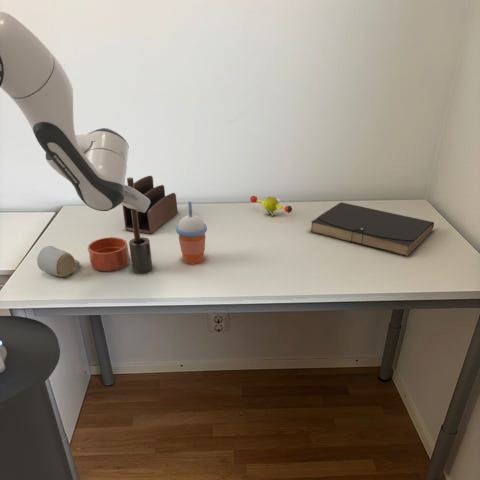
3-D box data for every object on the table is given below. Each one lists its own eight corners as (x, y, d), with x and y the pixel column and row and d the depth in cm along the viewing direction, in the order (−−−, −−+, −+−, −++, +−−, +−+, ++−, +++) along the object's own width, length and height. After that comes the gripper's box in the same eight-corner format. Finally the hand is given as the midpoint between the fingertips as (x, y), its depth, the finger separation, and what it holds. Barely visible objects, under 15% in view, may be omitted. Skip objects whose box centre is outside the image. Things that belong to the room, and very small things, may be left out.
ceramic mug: (60, 282, 144) (55, 257, 139) (39, 275, 147) (33, 251, 143) (87, 267, 151) (82, 243, 147) (66, 261, 155) (61, 237, 151)
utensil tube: (145, 275, 146) (141, 246, 141) (129, 271, 148) (125, 243, 144) (156, 267, 151) (153, 239, 146) (140, 263, 153) (137, 235, 148)
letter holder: (125, 230, 173) (119, 190, 165) (154, 210, 189) (150, 172, 181) (151, 234, 170) (146, 193, 162) (178, 213, 186) (175, 174, 178)
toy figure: (295, 218, 180) (296, 200, 176) (286, 223, 177) (287, 205, 173) (256, 207, 190) (256, 189, 186) (246, 211, 186) (246, 193, 183)
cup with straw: (180, 267, 150) (175, 209, 140) (176, 254, 158) (172, 197, 148) (210, 264, 152) (208, 206, 142) (206, 251, 159) (203, 195, 149)
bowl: (113, 275, 147) (110, 256, 143) (83, 267, 151) (79, 249, 148) (137, 259, 155) (134, 241, 152) (107, 252, 159) (104, 234, 156)
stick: (140, 255, 146) (130, 179, 134) (135, 254, 147) (125, 178, 135) (143, 253, 148) (134, 177, 135) (138, 252, 148) (129, 177, 136)
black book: (310, 220, 168) (343, 200, 185) (309, 232, 170) (341, 211, 187) (409, 244, 152) (435, 219, 168) (406, 257, 154) (432, 231, 171)
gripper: (134, 179, 123) (167, 206, 135) (82, 162, 134) (116, 189, 145) (122, 202, 123) (156, 227, 134) (70, 184, 133) (106, 208, 145)
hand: (135, 207), depth 140 cm, fingers closed on stick, 1 cm apart
